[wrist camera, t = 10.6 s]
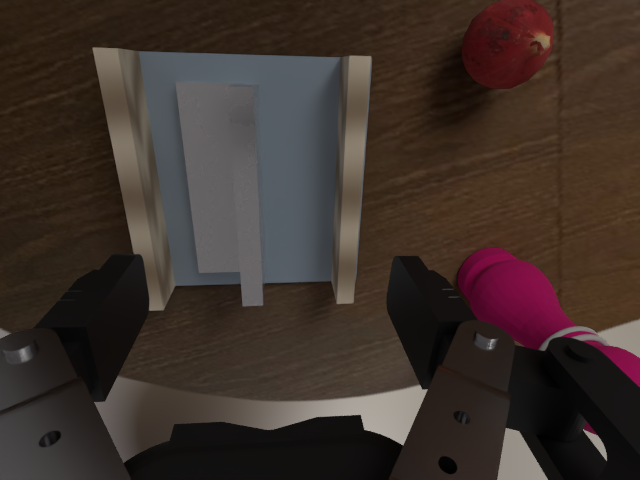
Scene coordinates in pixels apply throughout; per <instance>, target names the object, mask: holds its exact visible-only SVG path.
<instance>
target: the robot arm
mask: <svg viewBox="0 0 640 480" xmlns="http://www.w3.org/2000/svg"><path fill="white" fill-rule="evenodd" d="M387 310H388V314H389V316H390V318H391V321H392V323H393V325H394V327H395V330H396V332H397V334H398V336H399V338H400V341H401V343H402V345H403V347H404V350H405V352H406V354H407V356H408V358H409V361H410V363H411V365H412V367H413V370H414V372H415V374H416V376H417V378H418V381H419V383H420V385H421V387H422V389H428V391H427V393H426V395H425V398H424V400H423V402H422V404H421V407H420V409H419V411H418V414H417V416H416V418H415V420H414V423H413V425H412V427H411V430H410V432H409V434H408V436H407V439H406V441H405V443H404V445H401V444H399V443H397V442H396V441H394V440H392V439H390V438H387V437H385V436H383V435H381V434H377V433H374V432H371V431H366V430H364V428H363V423H362V419H361V415H352V416H332V417H316V418H313V419H309V420H306V421H302V422H299V423H295V424H292V425H288V426H285V427H281V428H278V429H274V430H263V429H258V428H252V427H247V426H241V425H236V424H231V423H225V422H211V423H191V424H175V425H174V427H173V431H172V434H171V438H170V441H167V442H164V443H161V444H159V445H156V446H154V447H151V448H149V449H147V450H145V451H143V452H141V453H139V454H137V455H135V456H134V457H132V458H131V459H129V460H127V461H126V462H125V463H123V461H122V459H121V457H120V455H119V453H118V451H117V449H116V447H115V445H114V443H113V441H112V439H111V437H110V435H109V432H108V430H107V428H106V426H105V424H104V422H103V420H102V418H101V416H100V414H99V412H98V410H97V408H96V406H95V403H94V402H103V401H105V400H106V398H107V396H108V394H109V392H110V390H111V388H112V386H113V384H114V382H115V380H116V378H117V376H118V374H119V372H120V370H121V368H122V366H123V364H124V362H125V360H126V358H127V356H128V354H129V352H130V350H131V348H132V346H133V344H134V342H135V340H136V338H137V336H138V334H139V332H140V330H141V328H142V326H143V324H144V322H145V320H146V318H147V315H148V311H149V292H148V286H147V280H146V273H145V267H144V261H143V258H142V256H141V255H140V254H113V255H112V256H111V257H110V258H109V259H108V260H107V261H106V263H105V264H104V265H103V266H102V267H101V269H100V270H93V271H91V272H89V273H87V274H86V275H84V276H82V277H81V278H79V279H77V281H76V282H75V283H74V284H73V285H72V286H71V287H70V288H69V289H68V292H66V293H65V294H64V295H63V296H62V297H61V298H60V301H58V302H57V303H56V304H55V305H54V306H53V307H52V308H51V309H50V311H49V312H48V313H47V314H46V315H45V316H44V317H43V318H42V319H41V321H40V322H39V323H38V324H37V325H36V326H35V327H34V328H32V329H26V330H22V331H18V332H15V333H12V334H9V335H7V336H5V337H3V338H1V339H0V480H497V476H498V470H499V464H500V458H501V452H502V446H503V440H504V434H505V428H509V429H513V430H517V431H520V433H521V435H522V436H523V438H524V440H525V441H526V443H527V445H528V447H529V448H530V450H531V452H532V453H533V455H534V457H535V458H536V460H537V462H538V463H539V465H540V467H541V468H542V470H543V472H544V473H545V475H546V477H547V478H548V480H640V387H639V386H638V385H637V384H636V383H635V382H634V381H632V380H631V379H630V378H629V377H628V376H627V375H626V374H625V373H624V372H623V371H622V370H621V369H620V368H619V367H618V366H617V365H616V364H615V363H614V362H613V361H612V360H611V359H610V358H608V357H607V356H606V355H605V354H604V353H603V352H601V351H600V350H599V349H597V348H595V347H594V346H592V345H590V344H588V343H586V342H583V341H580V340H578V339H574V338H569V337H556V338H553V339H551V340H550V341H549V343H548V346H547V348H546V351H542V350H536V349H531V348H526V347H521V346H517V345H515V343H514V340H513V339H512V337H511V336H510V335H509V334H508V333H507V332H505V331H504V330H503V329H501V328H499V327H498V326H496V325H493V324H491V323H488V322H484V321H479V320H478V319H477V318H476V316H475V315H474V314H473V313H472V311H471V310H470V309H469V308H468V306H467V305H466V304H465V302H464V301H463V300H462V299H461V298H459V295H458V293H457V292H456V291H455V290H453V287H452V286H451V285H450V283H449V282H448V281H447V279H446V278H444V277H443V276H441V275H440V274H438V273H437V272H435V271H434V270H428V269H427V267H426V266H425V265H424V263H423V262H422V260H421V259H420V258H419V257H418V256H395V257H394V259H393V262H392V268H391V274H390V280H389V286H388V292H387ZM586 423H588V424H589V425H590V426H591V428H592V429H593V430H594V431H595V433H596V434H597V435H598V436H599V438H600V439H601V440H602V442H603V444H604V446H605V449H606V452H607V461H606V460H605V459H604V457H603V456H602V455H601V453H600V452H599V451H598V449H597V448H596V447H595V446H594V444H593V443H592V442H591V441H590V439H589V438H588V436H587V435H586V434H585V433H584V431H583V429H584V427H585V425H586Z"/></svg>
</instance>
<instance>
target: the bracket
mask: <svg viewBox="0 0 640 480" xmlns="http://www.w3.org/2000/svg"><path fill="white" fill-rule="evenodd" d="M175 83H176V91H177V99H178V108H179V116H180V124H181V132H182V140H183V148H184V156H185V164H186V172H187V180H188V188H189V196H190V205H191V213H192V221H193V229H194V237H195V245H196V253H197V261H198V269H199V273H216V272H240V277H241V291H242V304H243V306H263V301H264V286H265V271H266V255H265V229H264V204H263V179H262V153H261V128H260V103H259V84H251V83H208V82H175Z"/></svg>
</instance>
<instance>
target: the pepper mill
mask: <svg viewBox="0 0 640 480" xmlns="http://www.w3.org/2000/svg"><path fill="white" fill-rule="evenodd" d="M458 286H459V288H460V290H461V292H462V293H463V294H464V295H465V296H466V298H467V299H468V300H469V301H470V307H471V310H472V312H473V314H474V315H475V316H476V318H477V319H478V320H479V321H484V322H488V323H491V324H493V325H496V326H498V327H499V328H501V329H503V330H504V331H505V332H507V333H508V334H509V335H510V336H511V337H512V339H513V340H515V341H517V342H519V343H520V344H522V345H523V346H524V347H526V348H531V349H536V350H542V351H546V348H547V346H548V343H549V341H550V340H551V339H553V338H556V337H569V338H574V339H578V340H580V341H583V342H586V343H588V344H590V345H592V346H594V347H595V348H597V349H599V350H600V351H601V352H603V353H604V354H605V355H606V356H607V357H608V358H610V359H611V360H612V361H613V362H614V363H615V364H616V365H617V366H618V367H619V368H620V369H621V370H622V371H623V372H624V373H625V374H626V375H627V376H628V377H629V378H630V379H631V380H632V381H634V382H635V383H636V384H637V385H638V386H639V387H640V358H639V357H637V356H636V355H634V354H632V353H630V352H628V351H627V350H624V349H621V348H618V347H613V346H609V344H608V343H607V341H606V340H604V339H603V338H602V337H599V335H598V334H597V333H596V332H595V331H594V330H592V329H590V328H587V327H583V326H577V325H575V324H574V323H573V322H572V321H571V320H570V319H569V318H568V317H567V316H566V315H565V314H564V312H563V311H562V309H561V307H560V304H559V301H558V299H557V296H556V293H555V291H554V289H553V287H552V285H551V283H550V282H549V280H548V279H547V277H546V276H545V275H544V274H543V273H542V272H541V271H540V270H539V269H538V268H537V267H535V266H534V265H532V264H530V263H528V262H525V261H521V260H518V259H517V258H515V257H514V256H513V255H511V254H510V253H509V252H507V251H506V250H504V249H501V248H492V247H491V248H485V249H482V250H480V251H477V252H475V253H474V254H472V255H471V256H470V257H469V258H468V259H467V260H466V261H465V262H464V263H463V265H462V266H461V268H460V270H459V274H458ZM584 430H586V431H589V432H591V433H593V434H596V433H595V431H594V430H593V429H592V428H591V426H590V425H589V424H588V423H586V425H585V427H584ZM596 435H597V434H596Z"/></svg>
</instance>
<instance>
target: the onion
mask: <svg viewBox="0 0 640 480" xmlns="http://www.w3.org/2000/svg"><path fill="white" fill-rule="evenodd" d="M553 39H554V30H553V21H552V19H551V17H550V16H549V14H548V12H547V10H546V9H545V8H544V7H543V6H541V5H540V4H538V3H537V2H535V1H533V0H501V1H499V2H496V3H493V4H491V5H490V6H488V7H487V8H485V9H484V10H483V11H482V12H481V13H480V14H479V15H477V16H476V17H475V18H474V19H473V20H472V22H471V24H470V26H469V28H468V29H467V31H466V33H465V35H464V37H463V46H462V54H461V56H462V59H463V62H464V66H465V69H466V71H467V72H468V73H469V75H470V76H471V77H472V78H473V80H474V81H476V82H477V83H479V84H481V85H484V86H486V87H488V88H490V89H509V88H513V87H515V86H517V85H519V84H521V83H523V82H526V81H527V80H529V79H530V78H531V77H532V76H533V75H534V74H535V73H536V72H537V71H538V70H539V69H540V68H541V67H542V66H543V65H544V63H545V61H546V59H547V58H548V56H549V54H550V53H551V49H552V44H553Z"/></svg>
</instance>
